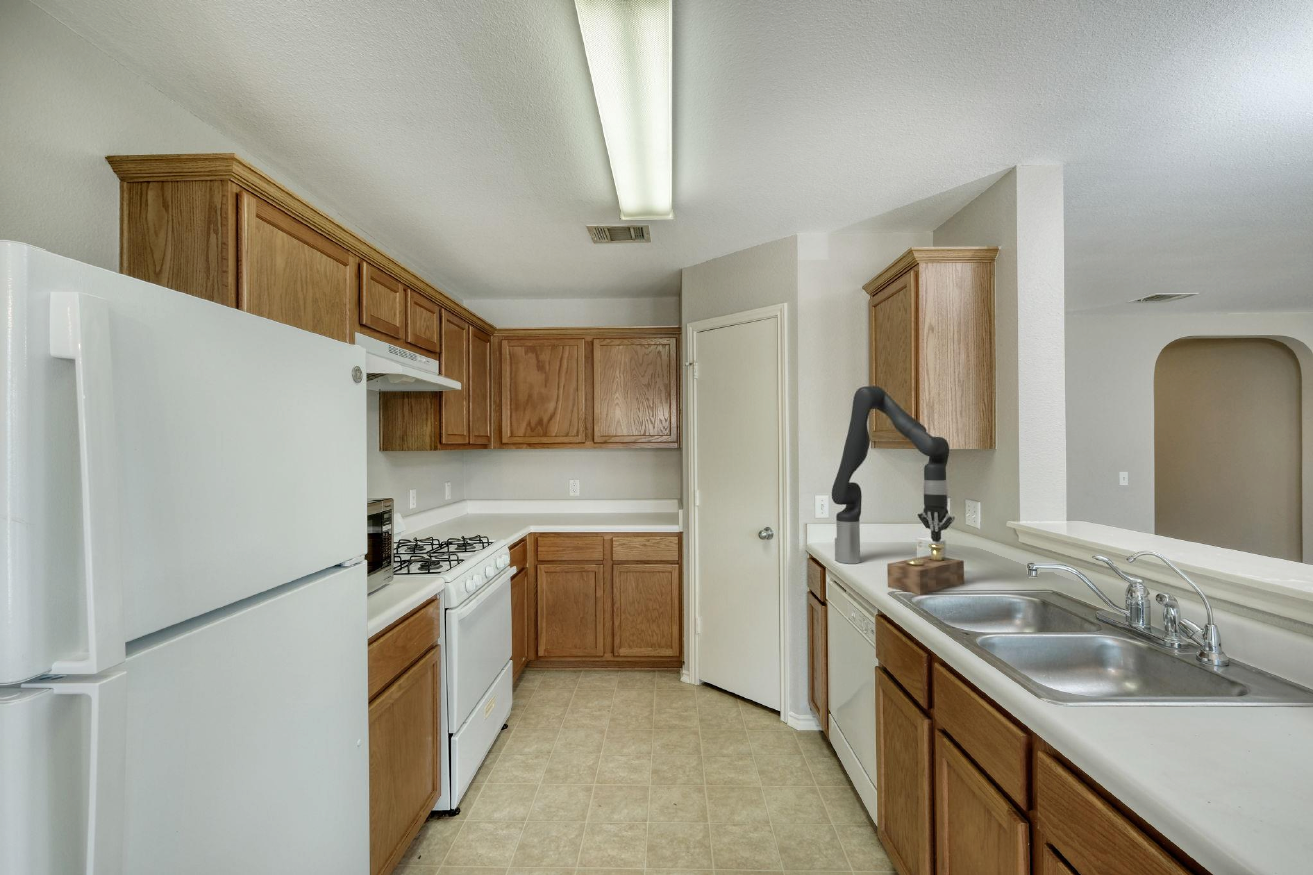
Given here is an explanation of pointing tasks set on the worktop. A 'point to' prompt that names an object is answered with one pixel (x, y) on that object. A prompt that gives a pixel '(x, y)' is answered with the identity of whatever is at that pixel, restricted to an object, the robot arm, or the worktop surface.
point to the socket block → (925, 575)
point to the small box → (924, 547)
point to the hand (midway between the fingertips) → (936, 541)
